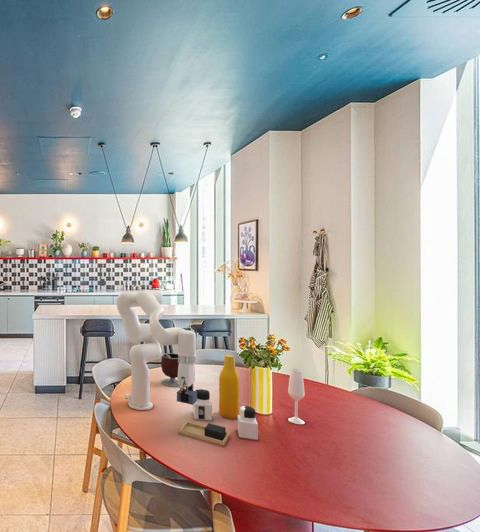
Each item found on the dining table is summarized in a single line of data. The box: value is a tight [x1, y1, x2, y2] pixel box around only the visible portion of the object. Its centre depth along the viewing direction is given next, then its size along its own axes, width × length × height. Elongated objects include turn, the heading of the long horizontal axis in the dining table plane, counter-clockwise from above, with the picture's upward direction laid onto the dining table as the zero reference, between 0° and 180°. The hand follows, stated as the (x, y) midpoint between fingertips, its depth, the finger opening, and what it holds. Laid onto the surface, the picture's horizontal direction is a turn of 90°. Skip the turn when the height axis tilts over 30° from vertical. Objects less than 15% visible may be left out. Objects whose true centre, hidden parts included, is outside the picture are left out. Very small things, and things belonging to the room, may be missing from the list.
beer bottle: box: [218, 354, 241, 420], centre depth 168 cm, size 9×9×29 cm
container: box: [192, 388, 213, 421], centre depth 165 cm, size 8×8×13 cm
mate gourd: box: [160, 352, 180, 388], centre depth 212 cm, size 16×14×20 cm
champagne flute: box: [287, 368, 306, 425], centre depth 162 cm, size 7×7×24 cm
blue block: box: [176, 388, 197, 406], centre depth 151 cm, size 7×6×4 cm
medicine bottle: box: [236, 405, 259, 441], centre depth 147 cm, size 7×7×12 cm
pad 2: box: [205, 422, 227, 441], centre depth 145 cm, size 7×6×4 cm
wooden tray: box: [178, 420, 230, 447], centre depth 147 cm, size 18×10×2 cm, turn 54°
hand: (187, 399), depth 151 cm, fingers closed on blue block, 6 cm apart
